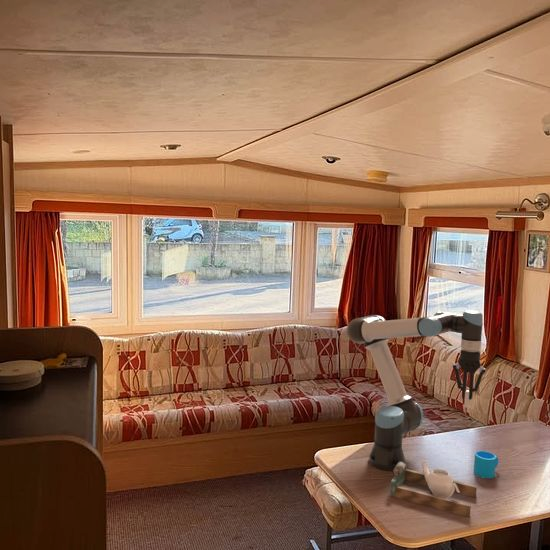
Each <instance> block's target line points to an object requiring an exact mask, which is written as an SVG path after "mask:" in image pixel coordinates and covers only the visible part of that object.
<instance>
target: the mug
mask: <svg viewBox="0 0 550 550" xmlns="http://www.w3.org/2000/svg"><path fill="white" fill-rule="evenodd" d="M473 461H474V462H473V474H474V473H475V474H476V475H475V474H474V475H475V476H476V477H479V478H481V477H483V478H482V479H486V478H491V479H493V478H495V475H496V468H497V467H498V465H499V457H498V456H497V455H495V453H493V452H490V451H485V450H477V451H475V453H474V460H473Z"/></svg>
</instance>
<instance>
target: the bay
mask: <svg viewBox="0 0 550 550" xmlns="http://www.w3.org/2000/svg"><path fill="white" fill-rule="evenodd" d="M392 472H393V473H394V476H393V477H392V479H391V481H390V497H393V498H398V499H401V500H405V501H406V502H407V501H408V502H412V503H414V504H415V503H416V504H419V505H422V506H426V507H429V508H433V509H437V510H441V511H444V512H449V513H452V514H455V515H459V516H463V517H466V518H470V517H471V509H472V508H471V507H472V504H470V503H469V504H468V503H465V502H461V501H457V500H455V499H451V498H448V497H447V498H443V497H439V496H435V495H432V494H431V493H427V492H424V491H419V490H416V489H412V488H409V487H405V486H402V485H403V483H404V481H409V482H412V483H416V484H420V483H421V484H420V485H424V484H425V486H428V484H427V482H426V480H425V477H424V473H423V471H422V472H421V471H417V470H413V469H408V468H407V463H406V462H405V463H403V462H398V464H397V465H396V467H395V468H394V470H393V471H392ZM452 480H453V479H452ZM453 483H455V484H456V485H457V487H458V490H459V491H460V493H458V492H457V491H456V488H455V490H454V493H456V494H460V495H463V496H466V497H467V496H468V497H470V498H471V497H472V498H477V488H478V486H477V485H476V484H470V483H466V482H461V481H458V480H453Z"/></svg>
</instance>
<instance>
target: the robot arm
mask: <svg viewBox="0 0 550 550" xmlns="http://www.w3.org/2000/svg"><path fill="white" fill-rule="evenodd" d="M483 319H484V318H483V313H482V312H480V311H477V310H464V311H463V313H462V314H457V313H452V312H447V311H437V312H435V314H434V315H432V316H423V317H414V318H402V319H401V318H400V319H390V320H386V319H385V318H384V317H383V316H381V315H377V314H370V315H366V316H362V317H357V318H354V319H352V320H351V321H350V322H349V323H348V325H347V327H346V334H347V336H348V338H349V339H350V341H351V342H352V343H355V344H359V345H361V344H363V347H364V348H365V349H366V350H368V351H369V353H370V355H371V358H372V361H373V363H374V365H375V368H376V371H377V373H378V376H379V378H380V380H381V383H382V385H383V388H384V391H385V394H386V397H387V400H388V402H387V405H386V406H381V407H379V408H378V409H377V411H376V412H375V418H374V442H373V446H372V448H371V451H370V453H369V456H368V458H369V459H368V462H369V463H370V465H371V466H373V467H374V468H377V469H378V470H379V469H380V470H383V471H392V472H393V470H394V468H395V467H396V465H397V464H398V462H403V463H405V464H406V459H405V458H406V457H405V454H404V450H403V436H404V435H406V434H408V433H410V432H412V431H414V430H415V431H416V430H417V429H418V428H419V427H420V426H422V424H423V422H424V411H423V408H422V407H421V406H420V404H418V403H417V402H416V401H414V399H413V397H412V396H410V395H409V394H408V393H407V391H406V388H405V385H404V383H403V380H402V378H401V375H400V373H399V371H398V368H397V365H396V363H395V360H394V357H393V356H392V352H391V350H390V347H389V345H388V342H389V340H390V339H396V338H411V337H413V338H415V337H427V338H428V337H429V338H430V337H431V338H432V337H436V336H438V335H441V334H446V333H457V334H461V339H460V340H461V341H460V352H459V354H460V355H459V360H458V362H456V363H454V364H453V365H452V368H453V370H454V372H455V373H454V374H455V379H456V383H457V388H458V389H460V390H461V398H462V399H464V404H463V407H464V408H466V409H467V408H469V407H470V400H472V399H473V396H474V393H473V392H477V391H478V389H479V387H480V385H481V384H480V383H481V381H482V378H483V375H484V374H485V373H486V372H487V368H486V367H483V366H482V364H481V362H480V361H481V349H482V336H483V335H482V334H483V326H484V323H483V322H484V321H483ZM460 369H461V370H462V371H463V373H462V374H463V376H462V379H461V374H460ZM477 371H478V372H479V374H478V377H477V379H476V382H475V373H476V372H477ZM468 373H469V387H468V388H469V389H467V384H468ZM474 382H475V384H474Z"/></svg>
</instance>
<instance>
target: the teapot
mask: <svg viewBox="0 0 550 550" xmlns="http://www.w3.org/2000/svg"><path fill="white" fill-rule="evenodd" d="M421 467H422V470H423V471H422V473H424V477H425V480H426V482H427V484H428V485H427V487H428V489H429V490H430V491H431V493H432V495H435V496H439V497H443V498H447V499H448V498H450V497H452V495H454V493H455V492H454V490H455V488H456V491H457V492H458V493H457V494H459V493H460V491H459V490H458V487H457V485H456V484H455V483H453V478H452V476H451V474H450V473H449V472H448V471H447V470H445V469H440V468H436V469H432V470H431V471H430V469H429V467H428V463H427V462H426V461H422V462H421Z"/></svg>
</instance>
